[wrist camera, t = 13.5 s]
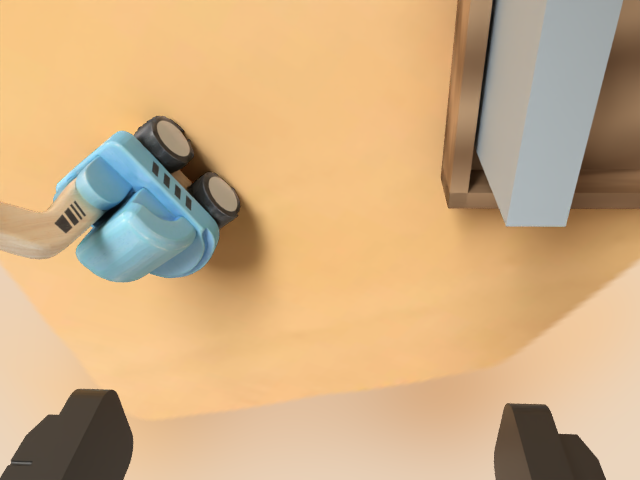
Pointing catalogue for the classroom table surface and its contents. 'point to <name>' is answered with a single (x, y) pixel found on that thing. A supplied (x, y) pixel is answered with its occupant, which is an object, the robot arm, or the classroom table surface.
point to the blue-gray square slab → (541, 102)
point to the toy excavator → (129, 209)
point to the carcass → (605, 134)
